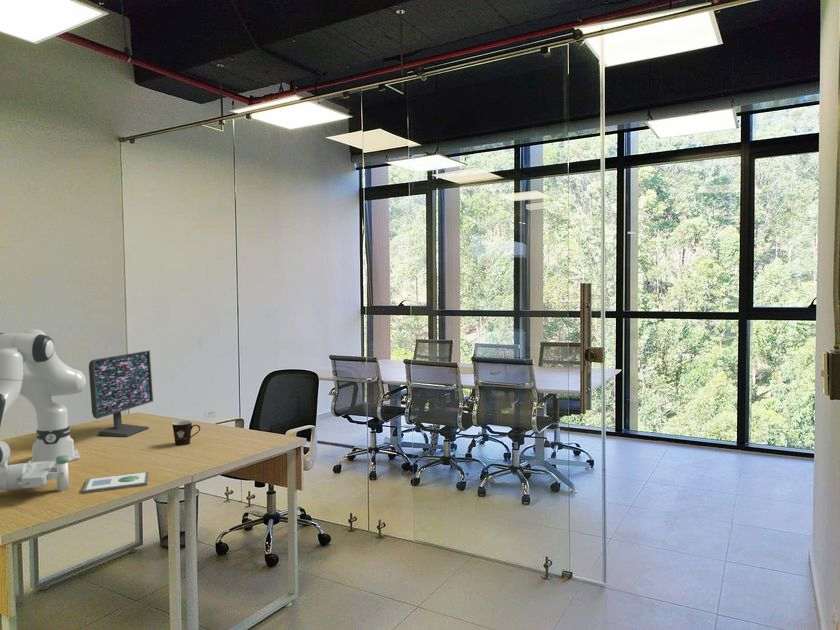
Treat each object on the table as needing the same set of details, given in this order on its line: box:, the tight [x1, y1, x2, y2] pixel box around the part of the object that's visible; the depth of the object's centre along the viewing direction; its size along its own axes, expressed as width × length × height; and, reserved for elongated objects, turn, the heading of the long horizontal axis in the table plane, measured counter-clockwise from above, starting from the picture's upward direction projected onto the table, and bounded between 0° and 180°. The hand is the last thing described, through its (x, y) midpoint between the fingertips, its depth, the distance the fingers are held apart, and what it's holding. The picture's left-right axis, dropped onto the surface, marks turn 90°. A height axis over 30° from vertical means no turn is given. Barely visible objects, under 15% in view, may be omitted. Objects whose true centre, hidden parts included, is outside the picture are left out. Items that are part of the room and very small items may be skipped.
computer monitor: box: [88, 350, 154, 438], centre depth 294 cm, size 44×16×40 cm, turn 171°
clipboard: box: [81, 471, 149, 494], centre depth 216 cm, size 15×21×1 cm
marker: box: [55, 455, 70, 492], centre depth 209 cm, size 4×4×12 cm
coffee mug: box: [172, 420, 201, 447], centre depth 271 cm, size 12×9×10 cm
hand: (65, 471), depth 210 cm, fingers open, 4 cm apart
